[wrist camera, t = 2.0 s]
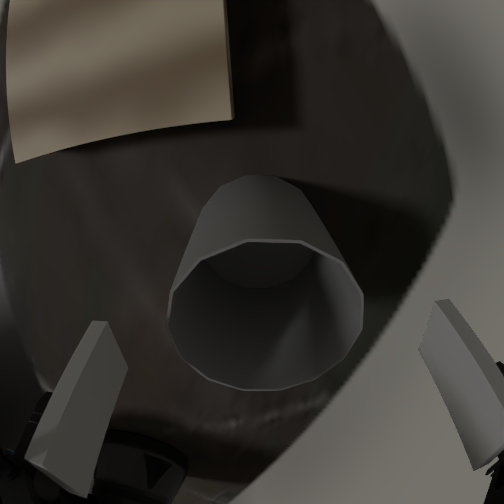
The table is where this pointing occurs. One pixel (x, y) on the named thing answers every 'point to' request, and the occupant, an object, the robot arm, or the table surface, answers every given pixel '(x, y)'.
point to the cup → (262, 290)
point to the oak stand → (113, 69)
